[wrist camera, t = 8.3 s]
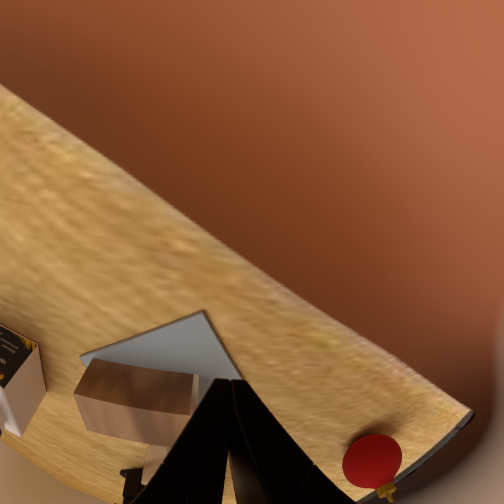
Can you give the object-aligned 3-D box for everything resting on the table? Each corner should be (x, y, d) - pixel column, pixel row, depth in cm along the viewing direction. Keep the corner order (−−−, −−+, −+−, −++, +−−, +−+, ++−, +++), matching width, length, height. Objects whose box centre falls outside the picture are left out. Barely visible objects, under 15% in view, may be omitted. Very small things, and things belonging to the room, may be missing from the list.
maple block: (199, 451, 24) (198, 489, 19) (176, 462, 25) (173, 497, 20) (169, 435, 23) (164, 475, 18) (147, 447, 24) (141, 483, 19)
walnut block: (195, 416, 17) (73, 393, 15) (195, 449, 18) (87, 430, 17) (198, 374, 21) (92, 357, 20) (197, 410, 22) (101, 395, 21)
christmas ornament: (394, 433, 28) (425, 488, 18) (348, 461, 28) (371, 518, 19) (378, 414, 26) (415, 480, 16) (325, 446, 26) (350, 514, 17)
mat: (277, 432, 25) (278, 435, 24) (175, 456, 25) (175, 459, 24) (202, 310, 20) (202, 313, 19) (80, 355, 20) (79, 357, 20)
